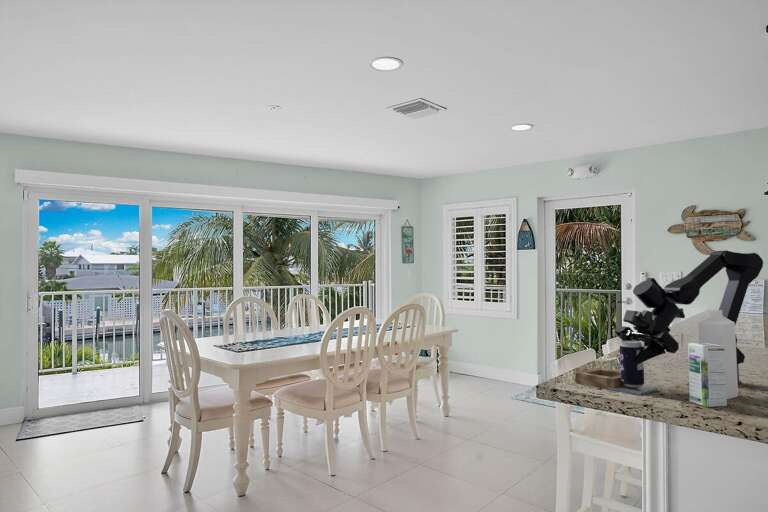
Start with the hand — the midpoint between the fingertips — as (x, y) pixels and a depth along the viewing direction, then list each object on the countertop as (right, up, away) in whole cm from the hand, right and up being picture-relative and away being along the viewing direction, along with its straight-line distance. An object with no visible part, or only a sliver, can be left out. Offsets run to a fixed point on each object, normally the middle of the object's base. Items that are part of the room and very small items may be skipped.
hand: (627, 361), depth 137 cm
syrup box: (+12, -7, -16) cm, 21 cm away
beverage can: (+2, -7, 0) cm, 7 cm away
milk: (+20, -7, -8) cm, 23 cm away
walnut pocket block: (-2, -8, +8) cm, 12 cm away
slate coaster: (+1, -8, 0) cm, 8 cm away
